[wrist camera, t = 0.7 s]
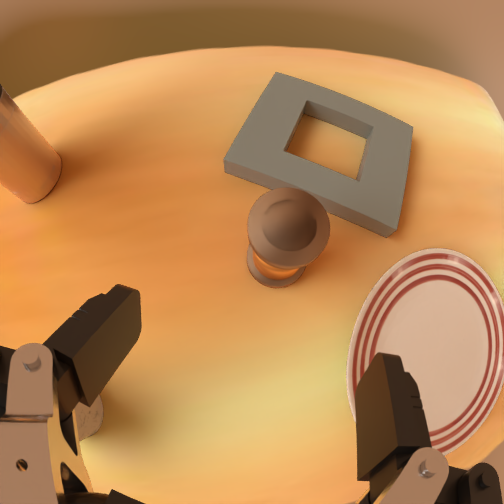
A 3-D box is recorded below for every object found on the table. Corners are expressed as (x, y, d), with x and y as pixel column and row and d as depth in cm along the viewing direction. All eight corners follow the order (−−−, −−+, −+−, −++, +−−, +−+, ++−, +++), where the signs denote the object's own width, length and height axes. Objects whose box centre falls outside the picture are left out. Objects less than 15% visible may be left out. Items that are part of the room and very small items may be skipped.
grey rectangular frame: (224, 172, 37) (223, 159, 34) (274, 85, 42) (276, 71, 39) (386, 237, 35) (396, 229, 32) (405, 137, 40) (413, 126, 37)
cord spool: (237, 274, 34) (234, 245, 23) (260, 223, 35) (266, 176, 25) (292, 296, 33) (314, 278, 23) (312, 244, 35) (339, 205, 24)
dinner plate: (474, 236, 36) (487, 229, 33) (505, 400, 29) (519, 402, 26) (312, 283, 34) (319, 277, 31) (357, 486, 27) (366, 497, 24)
